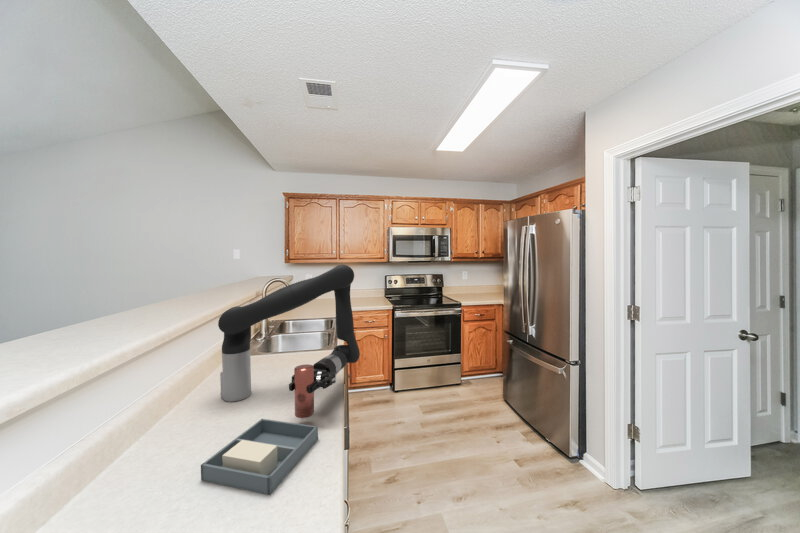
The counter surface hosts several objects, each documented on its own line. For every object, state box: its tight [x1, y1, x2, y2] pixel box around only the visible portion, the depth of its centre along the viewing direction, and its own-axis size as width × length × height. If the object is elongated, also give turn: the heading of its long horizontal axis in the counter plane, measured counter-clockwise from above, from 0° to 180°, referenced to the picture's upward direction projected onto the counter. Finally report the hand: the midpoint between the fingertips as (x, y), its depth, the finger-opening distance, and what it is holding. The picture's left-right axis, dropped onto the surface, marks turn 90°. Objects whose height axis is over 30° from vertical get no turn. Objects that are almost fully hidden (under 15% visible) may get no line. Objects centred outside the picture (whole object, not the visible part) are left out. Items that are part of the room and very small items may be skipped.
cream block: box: [222, 440, 278, 476], centre depth 70 cm, size 10×6×5 cm, turn 76°
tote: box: [200, 418, 319, 496], centre depth 75 cm, size 18×20×4 cm
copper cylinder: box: [293, 364, 315, 419], centre depth 91 cm, size 6×6×14 cm
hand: (299, 389), depth 89 cm, fingers closed on copper cylinder, 5 cm apart
